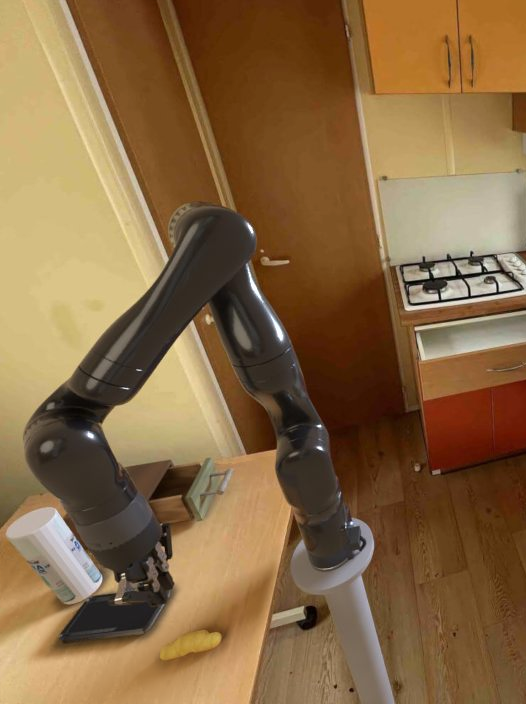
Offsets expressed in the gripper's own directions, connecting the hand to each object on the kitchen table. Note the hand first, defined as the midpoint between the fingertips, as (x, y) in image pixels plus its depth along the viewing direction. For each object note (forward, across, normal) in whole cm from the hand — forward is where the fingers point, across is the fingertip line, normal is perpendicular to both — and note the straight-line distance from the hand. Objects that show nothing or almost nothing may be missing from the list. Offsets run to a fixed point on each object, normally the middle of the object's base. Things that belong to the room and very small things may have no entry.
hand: (163, 595), depth 69 cm
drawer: (+14, +34, +12) cm, 39 cm away
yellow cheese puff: (+15, 0, 0) cm, 15 cm away
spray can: (+15, +17, +26) cm, 35 cm away
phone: (+15, +9, +16) cm, 24 cm away
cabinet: (+15, +34, +24) cm, 44 cm away
